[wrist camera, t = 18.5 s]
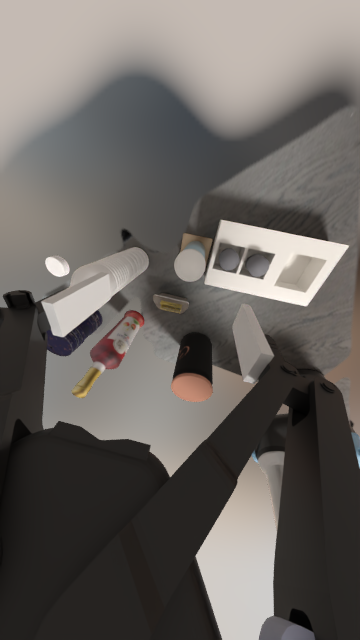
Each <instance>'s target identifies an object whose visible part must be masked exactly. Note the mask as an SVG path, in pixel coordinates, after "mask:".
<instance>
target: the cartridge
mask: <svg viewBox="0 0 360 640" xmlns="http://www.w3.org/2000/svg"><path fill="white" fill-rule="evenodd" d="M205 265H206V264H205V247H204V245H203V244H202V243H201V242H199V241H192V242H190V243H189V244H188V245H187V246H186V247H185V249H184V250H183V251H182V252H180V253H179V255H178V256H177V257H176V259H175V263H174V268H175V272H176V274H177V275H178V277H179V278H181V279H182V280H184V281H187V282H193V281H196V280H198V279H199V278H200V277H201V276H202V275H203V274H204V271H205Z"/></svg>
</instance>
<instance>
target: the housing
mask: <svg viewBox="0 0 360 640" xmlns="http://www.w3.org/2000/svg"><path fill="white" fill-rule="evenodd" d="M348 247H349V246H348V245H343V244H338V243H333V242H328V241H323V240H319V239H314V238H309V237H304V236H299V235H294V234H289V233H284V232H279V231H274V230H270V229H265V228H260V227H255V226H250V225H245V224H240V223H235V222H230V221H225V220H220V221H219V225H218V229H217V233H216V236H215V240H214V244H213V248H212V252H211V256H210V259H209V263H208V267H207V271H206V275H205V283H204V284H207V285H212V286H216V287H221V288H225V289H230V290H234V291H239V292H243V293H248V294H252V295H257V296H261V297H266V298H270V299H275V300H279V301H284V302H289V303H293V304H298V305H302V306H307V305H308V304H309V302H310V301H311V300H312V298H313V297H314V295H315V294H316V292H317V291H318V290H319V288H320V287H321V285H322V284H323V282H324V281H325V280H326V278H327V277H328V275H329V274H330V272H331V271H332V270H333V268H334V267H335V265H336V264H337V262H338V261H339V260H340V258H341V257H342V255H343V254H344V252H345V251H346V250H347V248H348ZM226 248H232V249H234V250H235V251H236V253H237V254H238V256H239V263H238V265H237V267H236V268H234V269H233V270H224V269H223V268H222V267H221V266H220V262H219V255H220V253H221V251H223V250H224V249H226ZM253 254H260V255H262V256H263V257H265V258H266V259H267V260H268V261H269V269H268V271H267V272H266V273H265V274H264V275H262V276H259V277H255V276H252V275H251V274H250V273H249V271H248V270H247V268H246V261H247V259H248V258H249V257H250V256H251V255H253Z"/></svg>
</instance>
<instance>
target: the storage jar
mask: <svg viewBox="0 0 360 640" xmlns="http://www.w3.org/2000/svg"><path fill="white" fill-rule="evenodd" d="M101 324H102V316H101V314H100V312H99V311H98V310H97V311H95V312H94V313H93V314H92V315H90V316H89V317H88V318H87V319H85V320H84V321H83V322H82V323H80V324H79V325H78V326H77V327H75V328H74V329H73V330H72V331H70V332H69V333H68V334H67V335H66V336H64V337H59V336H55V335H53V333H52V331H51V329H49V330H48V331H46V332H47V335H48V339H47V350H49V351H50V352H52V353H54V354H56V355H59V356H68V355H70V354H71V353H72V352H73V351H74V350H75V349H77V348H78V347H79V346H80V345H81V344H82V343H83V342H84V340H85V339H86V338H87V337H88V336H89V335H91V334H92V333H93V332H94V331H95V330H96V329H97V328H98V327H99V326H100V325H101Z"/></svg>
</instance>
